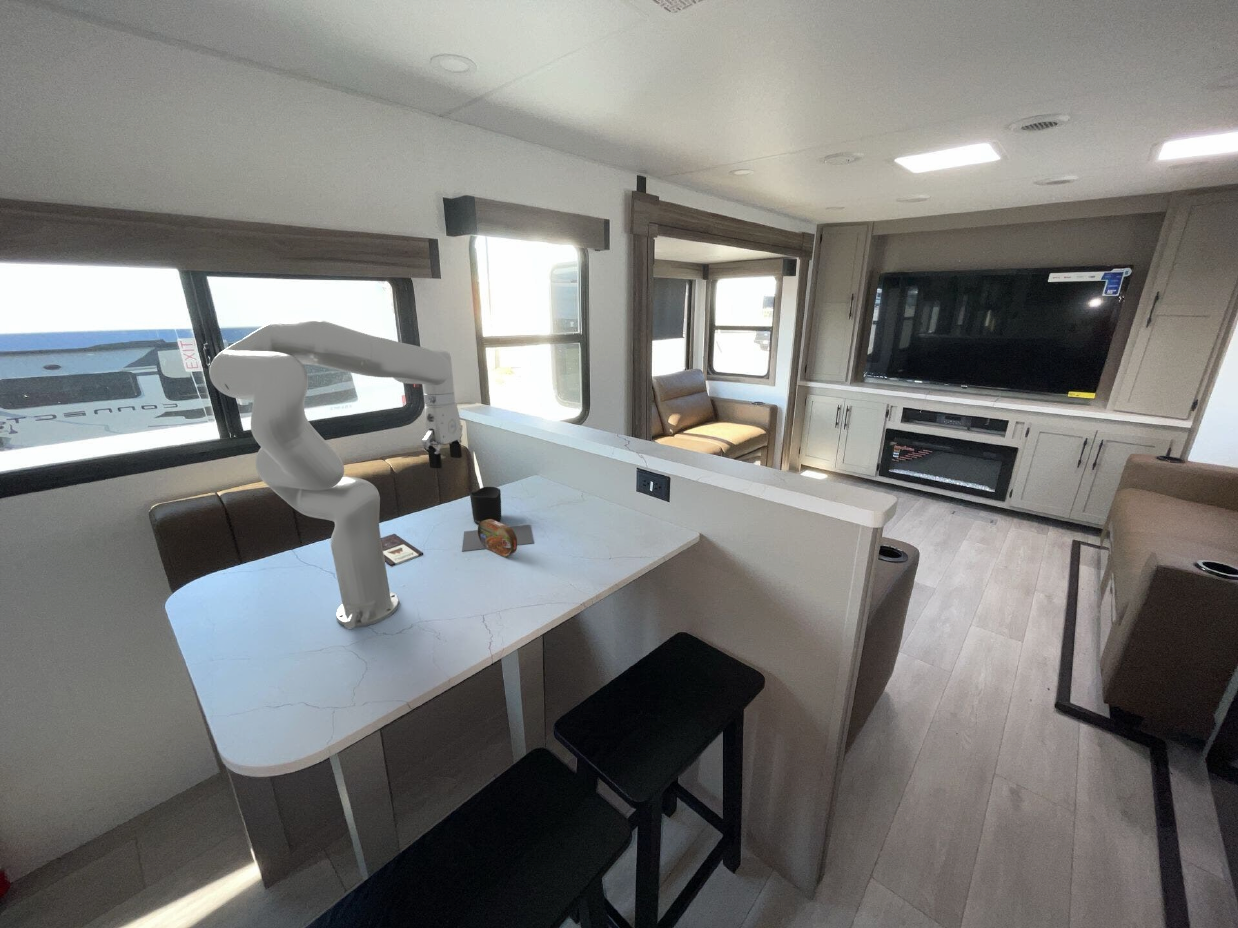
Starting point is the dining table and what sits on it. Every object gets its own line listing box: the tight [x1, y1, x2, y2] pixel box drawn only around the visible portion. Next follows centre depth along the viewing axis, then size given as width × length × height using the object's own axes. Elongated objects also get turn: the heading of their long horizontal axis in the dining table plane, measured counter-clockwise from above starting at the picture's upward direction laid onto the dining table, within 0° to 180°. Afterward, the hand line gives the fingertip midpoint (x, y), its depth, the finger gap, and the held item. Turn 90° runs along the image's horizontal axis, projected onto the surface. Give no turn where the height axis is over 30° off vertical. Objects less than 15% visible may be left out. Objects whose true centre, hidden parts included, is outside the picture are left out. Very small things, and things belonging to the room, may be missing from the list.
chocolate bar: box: [381, 533, 424, 567], centre depth 136 cm, size 9×1×18 cm
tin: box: [477, 519, 518, 558], centre depth 135 cm, size 15×3×8 cm, turn 51°
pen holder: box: [469, 486, 502, 526], centre depth 154 cm, size 9×9×10 cm
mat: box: [461, 524, 535, 552], centre depth 144 cm, size 13×20×1 cm, turn 105°
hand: (446, 462), depth 130 cm, fingers open, 9 cm apart
